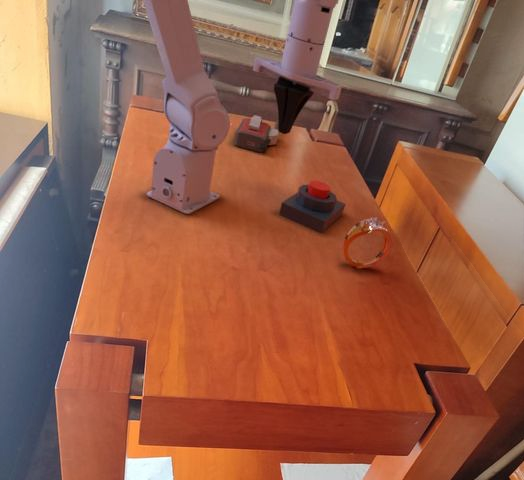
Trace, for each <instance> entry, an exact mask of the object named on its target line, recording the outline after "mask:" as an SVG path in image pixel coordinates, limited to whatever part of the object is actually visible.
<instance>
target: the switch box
mask: <svg viewBox="0 0 524 480" xmlns="http://www.w3.org/2000/svg"><path fill="white" fill-rule="evenodd" d="M308 187H309V184H302V185H300V186H299V187H298V188H297V189H298V190H297V192H295V194H293V195H290V197H288V198H286V199H285V200H284V201H282V202H281V204H280V209H279V212H278V215H279V216H281V217H284V218H286V219H288V220H290V221H292V222H294V223H297V224H300V225H302V226H304V227H306V228H309V229H311V230H313V231H316V232H318V233H320V234H323V232H324V231H326V230H327V229H328V228H329V227H330V226H331V225H333V223H335V222H336V221H337V220H338V219H339V218H340V217H341V216H343V213H344V210H345V207H346V203H345V202H343V201H340V200H338V197H337V195H336V194H335V193H334V192H332V190H330V192H329V195H328V198H327V199H319V198H315V197H313V196H311V195H309V194H308V193H307V191H308Z"/></svg>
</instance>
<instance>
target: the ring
mask: <svg viewBox="0 0 524 480" xmlns="http://www.w3.org/2000/svg"><path fill="white" fill-rule="evenodd" d="M386 223H387V222H386V221H385V220H383V221H380V220H379V221H378V217H377V216H375V217H373V216H370V218H366V219H365V218H364V219H363V220H361V221H359V222H357V223H356V224H354V225H353V227H351V228H350V230H349V231H348V232H347V234H346V236H345V237H344V239H343V242H342V253H343V256H344V259H345V261H346V262H347V263H348V264H349V265H350V266H353V267H355V268H356V269H359V270H361V269H366V268H371V267H373V266H377V265H378V264H379V263H381V262H382V261H383V260H384V259H385V258H386V257H387V255H388V253H389V252H390V249H391V246H392V236H391V233H390V232H389V230H388V229H387V228H385V227H384V226H385V225H386ZM371 232H379V233H380V234H381V236H382V238H383V245H382V247H381V250H380V252H379V253H378V254H377V255H376V256H375V257H374V258H372V259H369V260H367V261H362V259H357V260H355V259H353V258H352V257H351V256H350V254H349V248H350V246H351V244H352V242H354V241H355V240H357V238H359V237H361V236H364V235H367V234H370V233H371Z"/></svg>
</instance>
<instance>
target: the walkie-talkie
mask: <svg viewBox="0 0 524 480" xmlns="http://www.w3.org/2000/svg"><path fill="white" fill-rule="evenodd" d="M263 119H264V117H263V116H260V115H256V114H252V117H251V118H249V117H246V118H243V119H241V122H240V123H239V125H238V128H237V130H236V131H235V136H234V141H233V144H234V145H235V146H236V147H237V148H242V149H245V150H248V151H252V152H255V153H256V152H257V153H264V151H266V150H267V147H268V146H272V145H273V146H275V145H276V144H277V142H278V140H279V137H280V133H281V132H278V121H276V122H275V123H274V127H273V128H272V125H270V124H269V123H267V122H265V121H263Z"/></svg>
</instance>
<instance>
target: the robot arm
mask: <svg viewBox="0 0 524 480" xmlns="http://www.w3.org/2000/svg"><path fill="white" fill-rule="evenodd" d="M142 3H143V6H144V9H145V12H146V16H147V18H148V23H149V26H150V28H151V31H152V35H153V38H154V41H155V45H156V48H157V51H158V54H159V58H160V61H161V64H162V68H163V71H164V75H165V76H164V79H162V81H161V86H162V89H163V94H164V95H163V96H164V99H163V112H164V113H163V114H164V116H165V118H166V120H167V122H169V134H168V139H167V141H166V144H165V145H164V146H163V147H162V148H161V149H159V150H158V151H157V152H156V154H155V155H154V158H153V167H152V179H151V190H149V191H147V192H146V197H148V198H150V199H153V200H155V201H157V202H159V203H161V204H163V205H166V206H168V207H170V208H172V209H174V210H176V211H178V212H181V213H183V214H185V215H191V214H192V213H194V212H196V211H198V210H200V209H202V208H203V207H205V206H207V205H209V204H211V203H213V202H215V201H217V200H219V199H220V195H219V194H218V193H215V192H213V191H211V186H212V180H213V174H214V173H213V172H214V167H215V160H216V153H217V151H218V150H219V146H221V145H222V144H223V142H224V141H225V140H226V138H227V137H228V135H229V132H230V129H231V128H230V127H231V119H230V116H229V113H228V111H227V110H226V109H225V107H224V106H223V105H222V104H221V102H220V99H219V95H218V91H217V89H216V88H215V86H214V84H213V83H212V81H211V79H210V78H209V76H208V74H207V72H206V70H205V67H204V63H203V59H202V54H201V50H200V45H199V42H198V37H197V34H196V29H195V25H194V22H193V17H192V12H191V8H190V4H189V0H142ZM338 4H339V0H294V2H293V6H292V12H291V17H290V21H289V26H288V30H287V35H286V39H285V43H284V49H283V54H282V58H281V62H280V61H277V60H273V59H269V58H267V57H263V56H256V57H255V58H254V64H253V68H252V71H253V72H255V73H258V74H259V73H261V74H264V75H267V76H269V77H272V78H275V79H277V81H276V82H275V83H274V84H273V91H274V96H275V99H276V105H277V114H278V115H277V116H278V117H277V118H278V121H277V122H278V132H280V133H281V134H283V135H287V134H290V133H291V130H292V129H293V126H294V124H295V122H296V120H297V118H298V116H299V114H300V113H301V111H302V110H303V108H304V107H305V105H307V103H308V101H310V99H311V98H312V97H313V95H314V93H315V94H318V95H321V96H324V97H327V98H328V99H329V100H331V101H337V100H339V98H340V95H341V93H342V88H343V85H341V84H338V83H336V82H334V81H331V80H329V79H327V78H325V77H324V76H321V75H319V74H318V70H319V67H320V62H321V59H322V55H323V51H324V47H325V44H326V39H327V35H328V33H329V32H328V31H329V27H330V23H331V19H332V16H333V13H334V9H335V8H336V6H337V5H338Z"/></svg>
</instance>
